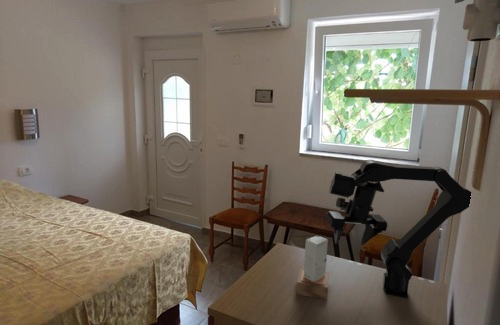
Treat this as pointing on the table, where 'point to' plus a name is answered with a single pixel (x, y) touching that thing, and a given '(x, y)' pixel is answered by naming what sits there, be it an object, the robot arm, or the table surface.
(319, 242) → the skincare box
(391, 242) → the robot arm
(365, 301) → the table surface
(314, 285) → the walnut stand
